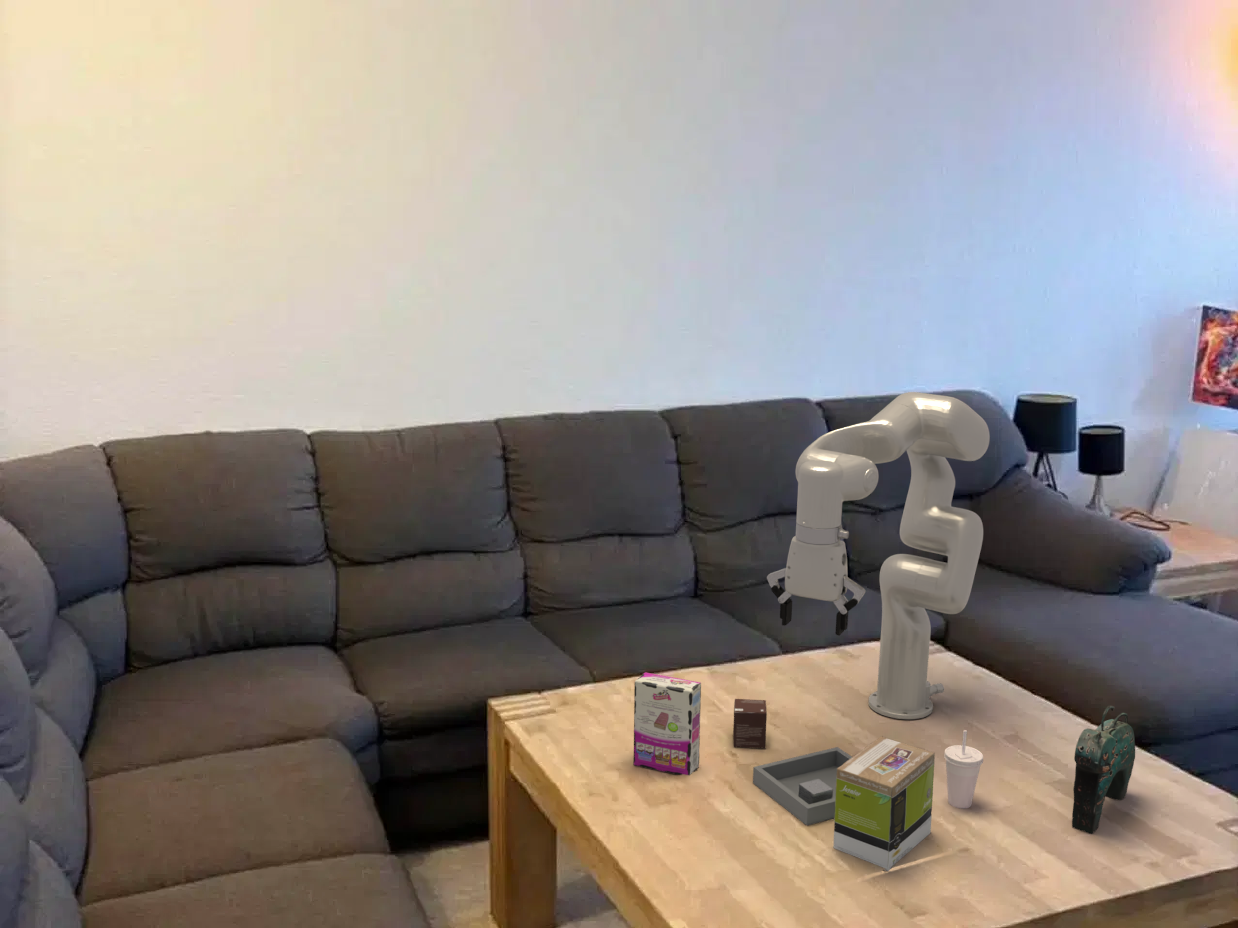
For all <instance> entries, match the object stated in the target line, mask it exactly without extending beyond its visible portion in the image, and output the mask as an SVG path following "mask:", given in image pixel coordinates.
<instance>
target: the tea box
mask: <svg viewBox="0 0 1238 928" xmlns="http://www.w3.org/2000/svg"><path fill="white" fill-rule="evenodd" d="M935 757H936V753H935V752H933V751H929V750H928V749H927V750H926V749H924V748H919V747H916V746H912V745H909V744H906V743H904V742H900V741H897V740H893V739H889V738H886V737H884V736H883V735H882V736H880V737H878V738H877V739H876V740H874V741H872V742H871V743H870V744H869V745H867V746H866V747H865V748H863V749H862V750H860V751H859V752H858V753H856V754H855V755H854V756H852V758H851V759H849V760H848V761H847V762H845V763H844V764H843V765H842V766H840V767H838V768H837V774H836V796H835V818H833V819H834V820H833V821H834V822H833V823H834V825H833V826H834V827H833V847H832V848H833V849H835V850H837V851H841V852H843V853H845V854H848V855H850V856H853V857H856V858H859V859H860V860H863V861H865V862H867V863H871V864H874V865H875V866H878V867H880V868H883V871H885V872H889V871H890V870H891V869H892V868H893V866H894V865H896V863H898V861H900V860H901V859H903V858H904V857H905V856H906V855H907V854H908V853H909V852H910V851H912V850H913V848H915V847H916V846H917V845H919V844H920V843H921V842H922V841H923V840H924V839H926V837H928V836H929V835H930V834H931V831H932V810H933V794H934V775H935Z"/></svg>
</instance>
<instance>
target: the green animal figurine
mask: <svg viewBox="0 0 1238 928" xmlns="http://www.w3.org/2000/svg"><path fill="white" fill-rule="evenodd" d="M1109 710H1111V712H1113V711H1114V710H1115V706H1113V705H1108V706H1107V707H1105V709H1104V710H1103V713H1102V716H1101V721H1100V722H1101V723H1100V724H1099V725H1098V726H1097V728H1096V729H1094V728H1085V729H1083V730H1082V732H1081V733H1080V735H1079V736H1078V740H1077V741H1076V742H1077V743H1076V746H1075V751H1074V759H1073V760H1074V762H1075V774H1074V775H1075V776H1074V782H1073V806H1072V807H1073V808H1072V813H1071V814H1072V817H1071V818H1072V819H1071V827H1072V828H1074V829H1076V830H1078V831H1081V832H1084V833H1087V834H1090V835H1093V834H1094V833H1095V832H1096V831H1097V830H1098V829H1099V826H1100V822H1101V817H1102V812H1103V807H1104V802H1105V799H1106V798H1111V799H1113V800H1116V801H1122V800H1124V799H1125V798H1126V796H1127V792H1128V787H1129V783H1130V779H1131V777H1132V774H1133V768H1134V765H1135V764H1134V763H1135V760H1136V741H1135V733H1134V729H1133V727H1132V726H1131V725H1130V724H1128V719H1129V718H1128V717H1129V715H1128V713H1126V712H1121V713H1120V714H1118V715H1117V716H1116V717H1115V718H1114V719H1113V718H1111V719H1108V720H1105V717H1106V716H1107V713H1108V711H1109ZM1121 717H1124V721H1119V719H1120V718H1121Z"/></svg>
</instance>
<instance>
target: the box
mask: <svg viewBox="0 0 1238 928" xmlns="http://www.w3.org/2000/svg"><path fill="white" fill-rule="evenodd" d="M733 706H734V707H733V728H732V729H733V731H732V734H733V735H732V736H733V748H749V749H763V750H764V749H766V748H767V747H766V743H767V740H766V739H767V715H768V713H767V700H766V699H745V698H734V703H733Z"/></svg>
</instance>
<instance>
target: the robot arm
mask: <svg viewBox="0 0 1238 928" xmlns="http://www.w3.org/2000/svg"><path fill="white" fill-rule="evenodd" d="M990 435H991V434H990V430H989V426H988V424H987V422H986V421H985V419H984V418H983V417H982V416H980V415H979V414H978V413H977V412H976V411H975V410H974V409H973V408H971V407H970V406H969V404H967V403H966V402H964V401H962V400H960V399H959V398H956V397H953V396H947V395H942V394H941V395H940V394H934V393H933V394H931V393H925V392H917V391H908V392H904V393H902V394H899V395H898V396H896V397H895V398H894V399H893V400H891V402H889V403H888V404H887V405H886V406H885V407H883V409H882V410H880V411H879V412H877V414H875V415H874V416H873V417H872V418H871V419H870V420H868V421H865V422H863V421H862V422H859V423H855V424H852V425H848V426H845V427H841V428H838V429H835V430H831V431H829V432H827V433H824V434H823V435H821V436H819V437H818V438H816V440H814V441H813V442H812V443H810V444H809V445H808V446H807V447H806V448H805V449H804V450H803V452H801V454H800V456H799V458H798V460H797V462H796V465H795V478H796V480H797V499H796V501H797V504H796V505H797V506H796V521H795V523H796V526H795V536H793V537H792V539H791V542H790V545H789V549H788V554H787V559H786V567H784V568H782V569H779V570H777V571H773V572H770V573H769V574H768V575H767V576H766V580H767V582H768V584H769V586H770V590H771V592H772V593H773V594H774V596H775V597H776V598H777V601H778V603H779V604H780V607H779V619H781V626H784V627H785V626H787V625H788V624H789V623H791V621H792V620H793V619H792V617H793V615H792V614H793V600H792V598H791V597H792V596H797V597H800V598H801V597H802V598H807V599H812V600H813V599H814V600H820V601H825V602H826V601H827V602H833V604H834V605H835V607H836V608H837V609H838V612H837V613H836V616H835V617H836V619H835V632H834V633H835V635H836V636H837V637H838V636H841V635H842V634H843V633H844V632H845V631H846V630H847V629H848V626H849V625H848V623H849V611H851V610H852V609H853V608H855V607H856V606H857V605H858V604H859V603H860V601H861V599H862V598H863V597H864V595H865V594H866V589H865V588H864V587H863V586H861V585H860V584H858V583H857V582H855V581H854V580H853V579H851V578H850V577H848V576H849V575H848V557H847V556H848V555H847V549H846V543H845V541H844V539H846V540H847V539H848V538H849V536H850V532H849V530H845V529H843V524H842V514H843V503H844V502H848V501H856V500H857V501H859V500H862V499H865V498H867V497H868V496H869V495H870V494H872V493H873V492H874V491H875V489H876V487H877V485H878V483H879V470H878V468H877V465H876V464H884V463H889V462H893V461H895V460H898V459H899V458H900V457H901V456H902V455H903V454H904V453H906V454H907V456H908V459H909V463H910V470H911V471H910V472H911V474H910V475H911V477H910V483H909V487H908V492H907V495H906V500H905V504H904V508H903V513H902V515H901V520H900V525H899V538H900V540H901V542H902V543H903V544H904V545H906V546H907V547H910V548H913V549H916V550H919V551H923V552H928V553H934V554H937V555H938V554H939V555H942V556H946V557H947V562H944V561H940V560H934V559H932V558H928V557H923V556H918V555H914V554H907V553H897V554H893V555H890V556H889V557H887V558H886V559H885V560H884V561H883V563H882V565H881V567H880V570H879V571H880V572H879V586H880V587H879V588H880V589H879V590H880V595H881V610H882V611H881V628H880V631H881V632H880V641H879V656H878V657H879V659H878V671H877V672H878V673H877V686H876V688H877V689H876V691H874V692H872V693H871V694H870V695H869V697H868V706H869V707H870V708H871V710H873V712H876V713H877V714H879V715H882V716H884V717H887V718H891V719H897V720H918V719H923V718H925V717H928V716H929V715H930V714H932V713H933V709H934V708H933V707H934V704H933V702H932V700H931V699H930V697H933V696H934V695H938V694H942V693H944V692H945V686H944V684H943V683H940V682H939V683H935V684H932V685H931V682H930V681H929V680H927V679H928V669H929V657H930V655H929V654H930V644H931V643H930V641H931V633H932V632H931V630H932V629H931V627H932V626H931V621H930V617H929V615H928V612H927V611H926V609H927V610H930V611H935V612H939V613H942V614H946V615H947V614H948V615H956V614H959V613H961V612H962V611H963V610H964V609H965V608H966V606H967V604H968V601H969V599H970V596H971V592H972V587H973V584H974V581H975V576H976V575H975V574H976V571H977V567H978V563H979V559H980V555H981V554H980V553H981V550H982V545H983V541H984V525H983V522H982V519H981V517H980V516H979V514H977V513H976V512H974V511H972V510H969V509H967V508H962V507H955V506H952V501H953V496H954V491H955V488H956V477H955V474H954V471H953V469H952V467H951V465H950V463H949V461H948V460H947V459H948V458H949V459H953V460H954V459H955V460H958V461H965V462H972V461H973V462H975V461H977V460H979V459H981V458H982V457H983V456H984V454H986V452H987V450H988V448H989V445H990V439H991V438H990V437H991V436H990ZM782 578H784V588H783V587H782V585H781V584H779V579H782ZM847 590H850V592H852V593H853V596H852V598H851V599H850V600H848V598H847V597H846V596H845V595H846V593H847Z"/></svg>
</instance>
